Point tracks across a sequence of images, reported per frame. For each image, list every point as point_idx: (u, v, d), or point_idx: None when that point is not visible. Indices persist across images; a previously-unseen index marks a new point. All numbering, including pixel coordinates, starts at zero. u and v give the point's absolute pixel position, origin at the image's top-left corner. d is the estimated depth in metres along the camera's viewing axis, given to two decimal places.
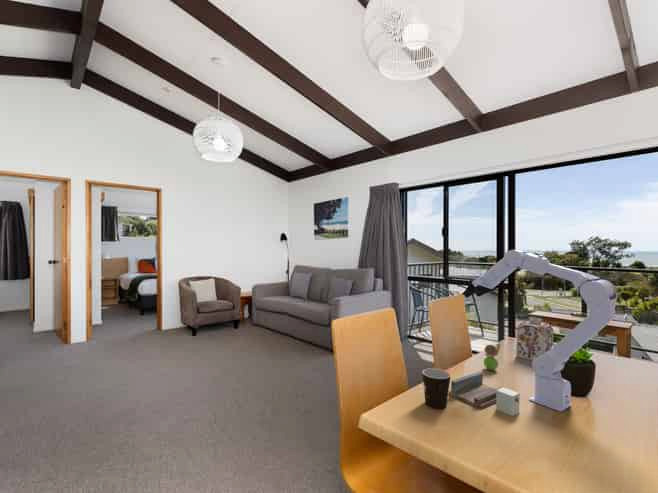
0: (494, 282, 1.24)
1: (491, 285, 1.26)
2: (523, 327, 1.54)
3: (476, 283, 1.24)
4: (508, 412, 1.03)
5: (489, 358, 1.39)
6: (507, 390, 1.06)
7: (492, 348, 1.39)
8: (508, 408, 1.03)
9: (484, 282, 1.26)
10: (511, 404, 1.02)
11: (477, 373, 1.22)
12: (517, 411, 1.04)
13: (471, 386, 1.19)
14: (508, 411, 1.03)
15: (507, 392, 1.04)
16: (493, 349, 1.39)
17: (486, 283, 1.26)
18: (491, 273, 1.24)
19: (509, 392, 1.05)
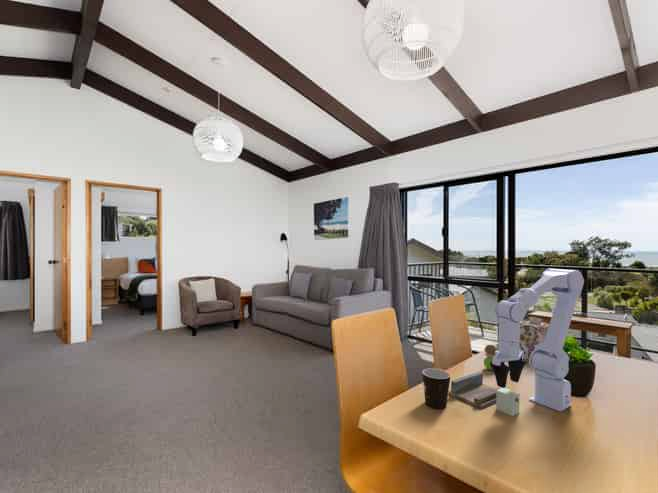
0: (514, 349, 1.02)
1: (514, 355, 1.02)
2: (523, 327, 1.54)
3: (497, 361, 1.01)
4: (508, 412, 1.03)
5: (489, 358, 1.39)
6: (507, 390, 1.06)
7: (492, 348, 1.39)
8: (508, 408, 1.03)
9: (505, 356, 1.03)
10: (511, 404, 1.02)
11: (477, 373, 1.22)
12: (517, 411, 1.04)
13: (471, 386, 1.19)
14: (508, 411, 1.03)
15: (507, 392, 1.04)
16: (493, 349, 1.39)
17: (508, 356, 1.03)
18: (502, 341, 1.04)
19: (509, 392, 1.05)
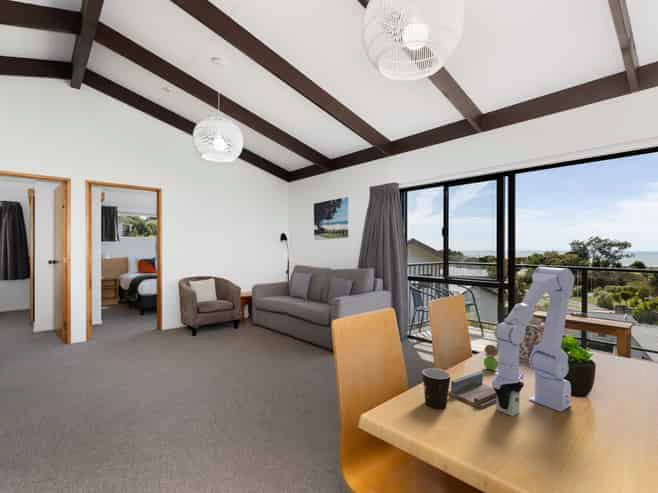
0: (513, 372, 1.02)
1: (514, 378, 1.03)
2: None
3: (496, 384, 1.01)
4: (508, 412, 1.03)
5: (489, 358, 1.39)
6: None
7: (492, 348, 1.39)
8: (508, 408, 1.03)
9: (504, 379, 1.03)
10: (511, 404, 1.02)
11: (477, 373, 1.22)
12: (517, 411, 1.04)
13: (471, 386, 1.19)
14: (508, 411, 1.03)
15: None
16: (493, 349, 1.39)
17: (507, 379, 1.03)
18: (502, 364, 1.04)
19: None
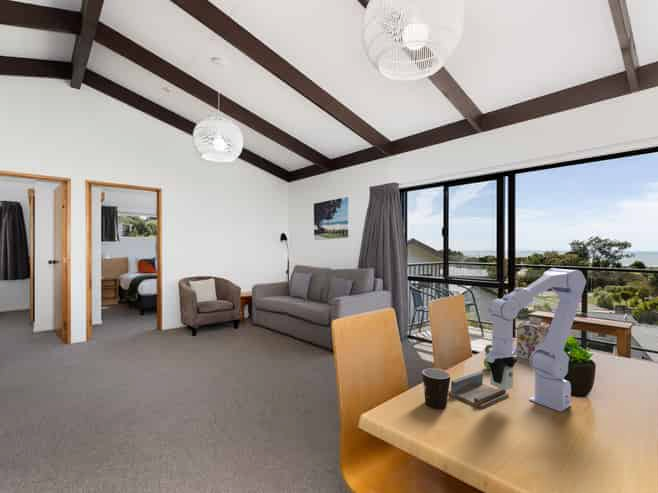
0: (507, 346, 1.05)
1: (507, 352, 1.05)
2: (523, 327, 1.54)
3: (490, 358, 1.03)
4: (502, 386, 1.05)
5: None
6: None
7: None
8: (502, 382, 1.05)
9: (498, 353, 1.05)
10: (505, 378, 1.05)
11: (477, 373, 1.22)
12: (511, 385, 1.06)
13: (471, 386, 1.19)
14: (502, 385, 1.05)
15: None
16: None
17: (501, 353, 1.05)
18: (496, 339, 1.06)
19: None
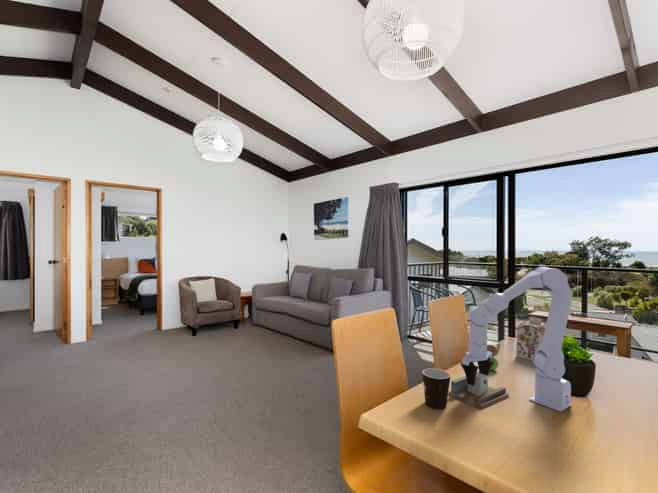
0: (481, 350, 1.13)
1: (482, 355, 1.13)
2: (523, 327, 1.54)
3: (465, 361, 1.12)
4: (477, 393, 1.14)
5: None
6: (477, 373, 1.17)
7: (492, 348, 1.39)
8: (477, 389, 1.14)
9: (474, 357, 1.14)
10: (480, 385, 1.13)
11: None
12: (486, 392, 1.14)
13: None
14: (477, 392, 1.14)
15: (476, 375, 1.15)
16: (493, 349, 1.39)
17: (476, 356, 1.14)
18: (471, 343, 1.15)
19: (478, 375, 1.16)
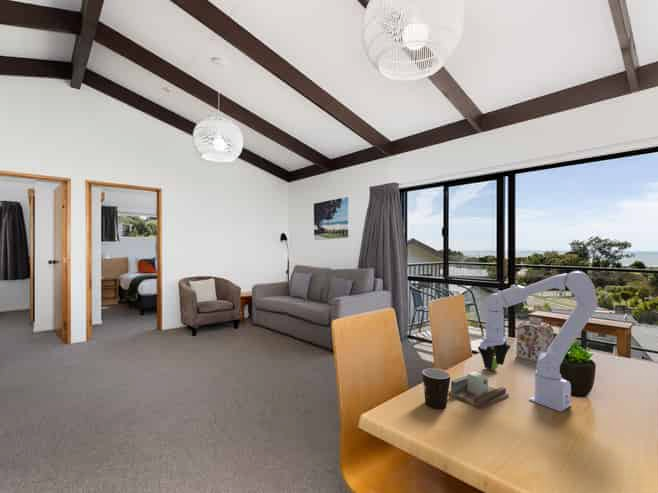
0: (498, 335, 1.18)
1: (499, 340, 1.18)
2: (523, 327, 1.54)
3: (484, 345, 1.16)
4: (477, 393, 1.14)
5: None
6: (477, 373, 1.17)
7: (492, 348, 1.39)
8: (477, 389, 1.14)
9: (491, 341, 1.18)
10: (480, 385, 1.13)
11: None
12: (486, 392, 1.14)
13: None
14: (477, 392, 1.14)
15: (476, 375, 1.15)
16: (493, 349, 1.39)
17: (493, 341, 1.18)
18: (489, 329, 1.19)
19: (478, 375, 1.16)
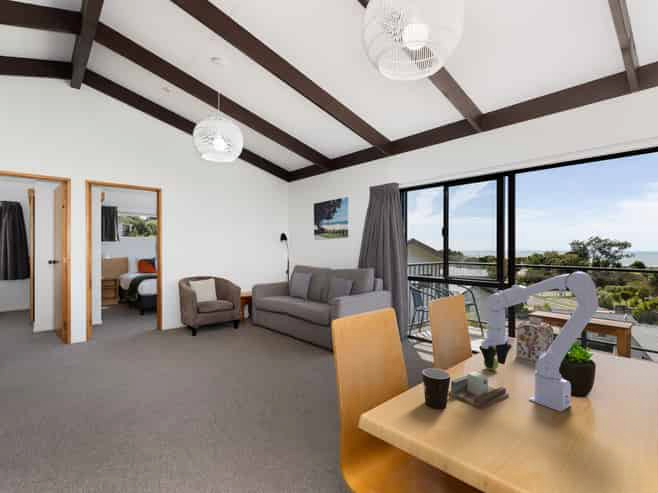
0: (500, 335, 1.18)
1: (500, 340, 1.18)
2: (523, 327, 1.54)
3: (485, 344, 1.17)
4: (477, 393, 1.14)
5: None
6: (477, 373, 1.17)
7: None
8: (477, 389, 1.14)
9: (492, 341, 1.19)
10: (480, 385, 1.13)
11: None
12: (486, 392, 1.14)
13: None
14: (477, 392, 1.14)
15: (476, 375, 1.15)
16: None
17: (495, 340, 1.19)
18: (490, 328, 1.20)
19: (478, 375, 1.16)
